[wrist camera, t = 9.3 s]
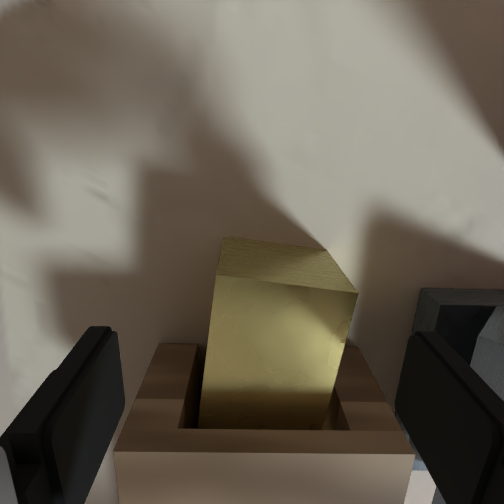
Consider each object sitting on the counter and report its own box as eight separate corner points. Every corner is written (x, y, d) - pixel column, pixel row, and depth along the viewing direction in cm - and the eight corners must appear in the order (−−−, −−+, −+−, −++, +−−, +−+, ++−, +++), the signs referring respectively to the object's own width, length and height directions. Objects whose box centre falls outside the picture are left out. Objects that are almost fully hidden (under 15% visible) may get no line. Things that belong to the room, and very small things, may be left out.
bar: (283, 438, 20) (295, 529, 16) (199, 430, 20) (186, 520, 15) (326, 249, 17) (358, 293, 12) (224, 235, 16) (215, 274, 12)
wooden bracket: (329, 529, 23) (361, 676, 16) (170, 529, 22) (141, 678, 16) (357, 346, 18) (415, 454, 12) (158, 343, 18) (112, 451, 12)
